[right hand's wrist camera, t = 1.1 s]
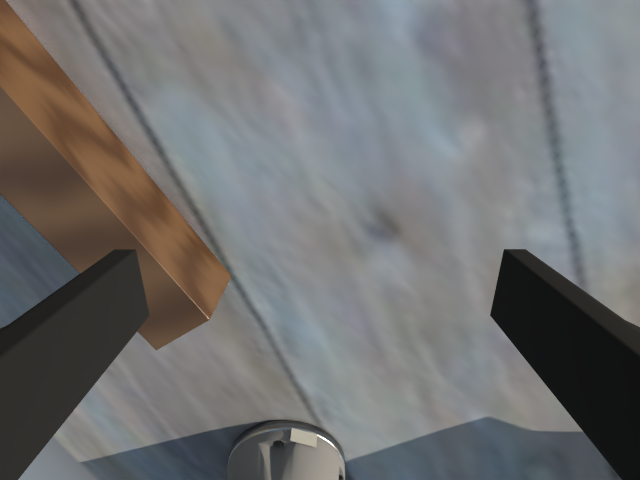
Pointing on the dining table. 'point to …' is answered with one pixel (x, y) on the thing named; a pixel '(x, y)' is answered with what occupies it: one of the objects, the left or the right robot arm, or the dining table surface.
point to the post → (94, 188)
